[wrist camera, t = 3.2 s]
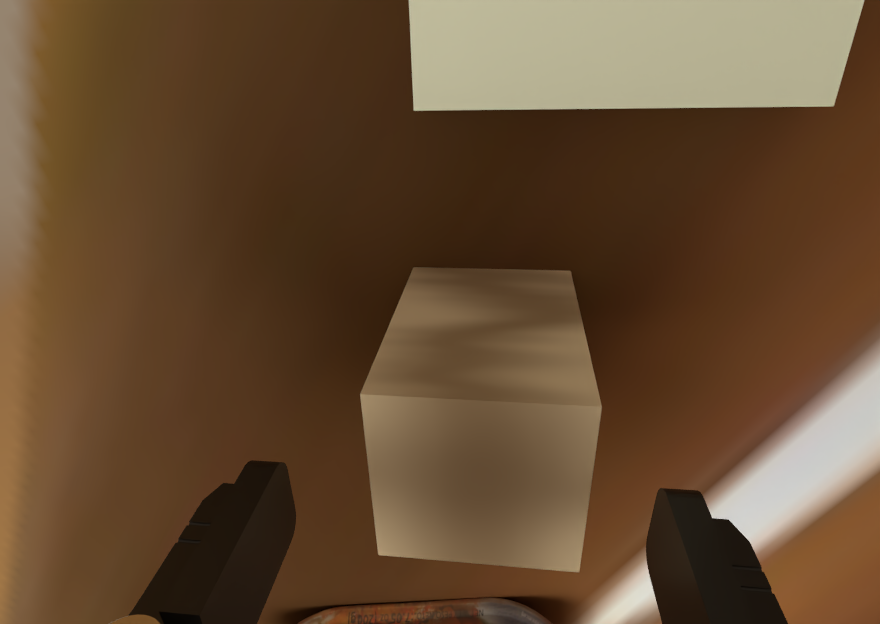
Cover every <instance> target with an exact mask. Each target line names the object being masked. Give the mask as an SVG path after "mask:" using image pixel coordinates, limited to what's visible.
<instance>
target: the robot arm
mask: <svg viewBox="0 0 880 624" xmlns="http://www.w3.org/2000/svg"><path fill="white" fill-rule="evenodd" d="M189 522H190V523H189V526H186V528H185V529H184V531H183V532H182V534H181V535H180V537H179V538H178V539H179V540H178V543H175V545H174V546H173V548H172V549H171V551H170V553H169V554H168V556H167V557H166V559H165V560H164V562H163V563H162V565H161V567H160V568H159V570H158V571H157V573H156V574H155V576H154V578H153V579H152V581H151V582H150V584H149V585H148V587H147V588H146V590H145V592H144V593H143V595H142V596H141V598H140V599H139V601H138V603H137V604H136V606H135V607H134V609H133V610H132V611H131V613H130V614H129V615H128V616H126V617H123V618H120V619H118V620H115V621H113V622H112V623H110V624H257V622H258V620H259V617H260V615H261V612H262V610H263V608H264V605H265V603H266V601H267V598H268V596H269V593H270V591H271V589H272V586H273V584H274V581H275V579H276V577H277V574H278V572H279V569H280V567H281V565H282V562H283V560H284V557H285V555H286V553H287V550H288V548H289V545H290V543H291V540H292V538H293V534H294V530H295V523H296V511H295V505H294V500H293V495H292V490H291V485H290V480H289V475H288V470H287V466H286V464H285V463H282V462H267V461H249V462H248V463H247V464H246V465H245V467H244V468H243V470H242V472H241V473H240V475H239V477H238V479H237V480H236V482H235V484H228V483H223V484H222V485H220V486H219V487H218V488H217V489H216V490H215V491H213V492H212V493H211V494H210V495H209V496H208V497H206V498H205V499H204V500H203V501H202V502H201V504H200V506H199V507H198V509H197V510H196V512H195V513H194V515H193V517H192V518H191V520H190V521H189ZM646 556H647V565H648V570H649V574H650V578H651V582H652V586H653V590H654V593H655V597H656V601H657V605H658V609H659V613H660V616H661V620H662V624H788V623H787V620H786V618H785V616H784V614H783V612H782V610H781V608H780V606H779V603H778V601H777V599H776V597H775V595H774V594H772V592H771V586H770V584H769V582H768V580H767V578H766V576H765V574H764V572H762V570H761V568H762V567H761V565H760V563H759V561H758V559H757V557H756V554H755V552H754V550H753V548H752V546H751V544H750V542H749V541H748V540H747V539H746V538H745V537H744V536H743V534H742V533H741V532H740V531H739V530H738V529H737V528H736V527H735V526H734V525H733V524H732V523H731V522H730V521H729V520H727V519H712V517H711V514H710V512H709V510H708V507H707V505H706V502H705V500H704V498H703V496H702V494H701V493H700V492H699V491H696V490H680V489H665V488H660V489H659V490H658V492H657V496H656V500H655V505H654V509H653V514H652V518H651V523H650V527H649V531H648V536H647V543H646Z"/></svg>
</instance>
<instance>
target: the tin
mask: <svg viewBox="0 0 880 624" xmlns="http://www.w3.org/2000/svg"><path fill="white" fill-rule="evenodd" d="M297 624H552V623H551V622H550V621H549V620H547V619H546V618H545V617H544V616H542V615H541V614H539V613H538V612H536V611H535V610H533V609H531V608H529V607H528V606H525V605H523V604H520V603H518V602H515V601H511V600H507V599H502V598H494V597H489V598H470V599H455V600H440V601H426V602H411V603H393V604H374V605H356V606H342V607H334V608H330V609H327V610H324V611H321V612H318V613H316V614H314V615H312V616H309V617H307V618H305V619H304V620H302V621H300V622H299V623H297Z"/></svg>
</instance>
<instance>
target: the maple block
mask: <svg viewBox="0 0 880 624" xmlns="http://www.w3.org/2000/svg"><path fill="white" fill-rule="evenodd" d="M360 398H361V407H362V415H363V424H364V433H365V442H366V451H367V459H368V468H369V477H370V486H371V495H372V504H373V512H374V521H375V530H376V539H377V548H378V555H384V556H396V557H407V558H419V559H430V560H442V561H453V562H465V563H476V564H488V565H499V566H511V567H522V568H534V569H545V570H557V571H568V572H579V570H580V563H581V555H582V548H583V541H584V533H585V526H586V519H587V512H588V504H589V497H590V490H591V483H592V475H593V468H594V461H595V454H596V446H597V439H598V432H599V424H600V417H601V410H602V405H601V401H600V396H599V392H598V388H597V383H596V379H595V375H594V370H593V366H592V362H591V357H590V353H589V348H588V344H587V340H586V335H585V331H584V327H583V322H582V318H581V314H580V309H579V305H578V301H577V296H576V292H575V288H574V283H573V279H572V274H571V271H561V270H518V269H475V268H433V267H413V269H412V272H411V274H410V277H409V279H408V281H407V284H406V286H405V288H404V291H403V293H402V296H401V298H400V300H399V303H398V305H397V308H396V310H395V312H394V315H393V317H392V319H391V322H390V324H389V327H388V329H387V331H386V334H385V336H384V339H383V341H382V343H381V346H380V348H379V350H378V353H377V355H376V358H375V360H374V362H373V365H372V367H371V370H370V372H369V374H368V377H367V379H366V381H365V384H364V386H363V389H362V391H361V393H360Z"/></svg>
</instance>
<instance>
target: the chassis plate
mask: <svg viewBox="0 0 880 624" xmlns="http://www.w3.org/2000/svg"><path fill="white" fill-rule="evenodd" d="M863 3H864V0H409V15H410V38H411V60H412V83H413V105H414V111H427V110H525V109H623V108H721V107H819V106H834V104H835V100H836V97H837V93H838V90H839V86H840V83H841V79H842V76H843V72H844V69H845V66H846V62H847V59H848V55H849V52H850V48H851V45H852V41H853V38H854V34H855V31H856V28H857V24H858V21H859V17H860V14H861V10H862V7H863Z"/></svg>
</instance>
